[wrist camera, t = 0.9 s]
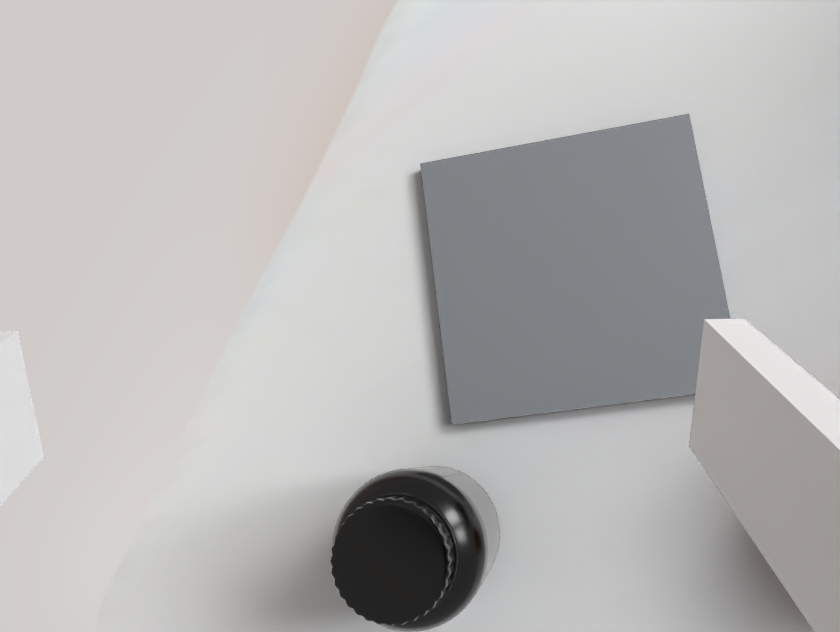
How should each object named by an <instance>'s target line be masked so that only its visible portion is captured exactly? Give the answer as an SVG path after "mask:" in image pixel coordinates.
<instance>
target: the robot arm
mask: <svg viewBox="0 0 840 632" xmlns="http://www.w3.org/2000/svg"><path fill="white" fill-rule="evenodd" d="M689 447H690V448H691V450H692V451H693V453H694V454H695V456H696V457H697V459H698V460H699V462H700V463H701V465H702V466H703V468H704V469H705V471H706V472H707V474H708V475H709V477H710V478H711V480H712V481H713V483H714V484H715V485H716V487H717V488H718V490H719V491H720V493H721V494H722V496H723V497H724V499H725V500H726V502H727V503H728V505H729V506H730V508H731V509H732V511H733V512H734V514H735V515H736V517H737V518H738V520H739V521H740V523H741V524H742V525H743V527H744V528H745V530H746V531H747V533H748V534H749V536H750V537H751V539H752V540H753V542H754V543H755V545H756V546H757V548H758V549H759V551H760V552H761V554H762V555H763V557H764V558H765V560H766V561H767V563H768V564H769V565H770V567H771V568H772V570H773V571H774V573H775V574H776V576H777V577H778V579H779V580H780V582H781V583H782V585H783V586H784V588H785V589H786V591H787V592H788V594H789V595H790V597H791V598H792V600H793V601H794V603H795V604H796V605H797V607H798V608H799V610H800V611H801V613H802V614H803V616H804V617H805V619H806V620H807V622H808V623H809V625H810V626H811V628H812V629H813V631H814V632H840V399H839V398H838V397H836V396H835V395H834V394H833V393H832V392H830V391H829V390H828V389H827V388H826V387H825V386H823V385H822V384H821V383H820V382H819V381H817V380H816V379H815V378H814V377H813V376H812V375H810V374H809V373H808V372H807V371H806V370H804V369H803V368H802V367H801V366H800V365H799V364H797V363H796V362H795V361H794V360H793V359H791V358H790V357H789V356H788V355H787V354H786V353H784V352H783V351H782V350H781V349H780V348H778V347H777V346H776V345H775V344H774V343H773V342H771V341H770V340H769V339H768V338H767V337H765V336H764V335H763V334H762V333H761V332H760V331H758V330H757V329H756V328H755V327H754V326H752V325H751V324H750V323H749V322H748V321H747V320H745V319H704V325H703V333H702V342H701V350H700V358H699V367H698V375H697V384H696V392H695V401H694V409H693V418H692V426H691V435H690V443H689ZM43 458H44V455H43V450H42V445H41V440H40V436H39V431H38V426H37V422H36V417H35V411H34V407H33V402H32V397H31V392H30V388H29V383H28V378H27V373H26V368H25V364H24V359H23V354H22V349H21V344H20V340H19V335H18V331H0V506H1V505H2V504H3V503H4V502H5V501H6V500H7V499H8V497H9V496H10V495H11V494H12V493H13V492H14V491H15V489H16V488H17V487H18V486H19V485H20V484H21V483H22V482H23V481H24V479H25V478H26V477H27V476H28V475H29V474H30V472H31V471H32V470H33V469H34V468H35V467H36V466H37V465H38V464H39V463H40V461H41V460H42V459H43Z"/></svg>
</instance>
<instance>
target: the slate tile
mask: <svg viewBox="0 0 840 632" xmlns="http://www.w3.org/2000/svg"><path fill="white" fill-rule="evenodd" d="M420 166H421V174H422V182H423V191H424V199H425V207H426V216H427V224H428V232H429V240H430V249H431V257H432V265H433V274H434V282H435V290H436V299H437V307H438V315H439V323H440V332H441V340H442V348H443V357H444V365H445V373H446V381H447V390H448V398H449V406H450V415H451V423H452V424H453V425H455V424H463V423H471V422H479V421H487V420H495V419H503V418H511V417H519V416H527V415H535V414H543V413H551V412H559V411H566V410H574V409H582V408H590V407H598V406H606V405H614V404H622V403H630V402H638V401H646V400H654V399H662V398H670V397H677V396H685V395H693V394H695V392H696V384H697V375H698V367H699V358H700V350H701V342H702V333H703V325H704V319H730V316H729V311H728V306H727V301H726V296H725V291H724V286H723V281H722V276H721V271H720V266H719V261H718V256H717V251H716V246H715V241H714V236H713V231H712V226H711V221H710V216H709V211H708V206H707V201H706V196H705V191H704V186H703V181H702V176H701V171H700V166H699V161H698V156H697V151H696V146H695V141H694V136H693V131H692V126H691V121H690V116H689V114H685V115H680V116H675V117H669V118H664V119H659V120H653V121H648V122H642V123H637V124H632V125H626V126H621V127H615V128H610V129H605V130H599V131H594V132H588V133H583V134H578V135H572V136H567V137H561V138H556V139H551V140H545V141H540V142H534V143H529V144H524V145H518V146H513V147H507V148H502V149H497V150H491V151H486V152H481V153H475V154H470V155H464V156H459V157H454V158H448V159H443V160H437V161H432V162H427V163H421V164H420Z"/></svg>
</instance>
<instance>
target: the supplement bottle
mask: <svg viewBox="0 0 840 632" xmlns="http://www.w3.org/2000/svg"><path fill="white" fill-rule="evenodd" d="M499 538H500V530H499V522H498V517H497V513H496V510H495V508H494V505H493V503H492V501H491V499H490V498H489V496H488V495H487V493H486V492H485V491H484V489H483V488H482V487H481V486H480V485H479V484H478V483H477V482H476V481H475V480H473V479H472V478H470V477H469V476H467V475H466V474H464V473H462V472H460V471H457V470H454V469H451V468H447V467H440V466H427V467H417V468H408V469H400V470H395V471H391V472H387V473H384V474H382V475H379V476H377V477H375V478H373V479H371V480H370V481H368V482H367V483H365V484H364V485H363V486H361V487H360V488H359V489H358V490H357V491H356V492H355V493H354V494H353V495H352V496H351V498H350V499H349V500H348V502H347V503H346V505H345V506H344V508H343V510H342V511H341V514H340V516H339V518H338V521H337V524H336V527H335V531H334V537H333V547H332V554H333V556H332V558H331V564H332V566H333V568H332V574H333V576H334V578H335V585H336V587H337V588H338V589H339V591H340V596H341V597H342V598H344V599H345V600H346V603H347V605H348V606H349V607H351V608H353V609H354V610H355V612H356V613H357V614H358V615H362V616H364V618H365V619H366V620H368V621H373V622H375V623H376V624H378V625H381V626H383V627H386V628H389V629H392V630H397V631H404V632H418V631H425V630H429V629H432V628H435V627H438V626H440V625H442V624H444V623H446V622H448V621H449V620H451V619H453V618H454V617H455V616H456V615H458V614H459V613H460V612H461V611H462V610H463V609H464V608H465V607H466V606H467V605H468V604H469V603H470V601H471V600H472V599H473V597H474V596H475V594H476V593H477V591H478V589H479V588H480V586H481V584H482V582H483V581H484V579H485V577H486V576H487V574H488V572H489V570H490V569H491V567H492V565H493V562H494V560H495V558H496V554H497V551H498V546H499Z"/></svg>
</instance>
